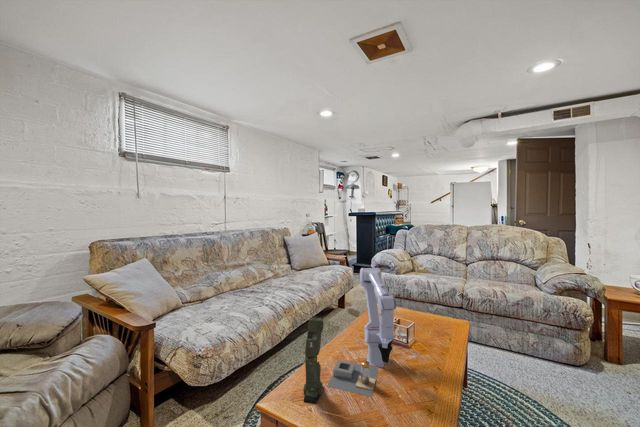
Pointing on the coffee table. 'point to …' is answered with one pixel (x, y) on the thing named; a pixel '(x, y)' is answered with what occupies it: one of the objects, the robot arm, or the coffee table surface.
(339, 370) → the block
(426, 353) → the coffee table surface
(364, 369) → the gold capped metal cylinder
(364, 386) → the cork pad
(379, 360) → the robot arm
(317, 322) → the mechanical leg
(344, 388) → the mat
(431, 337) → the coffee table surface
